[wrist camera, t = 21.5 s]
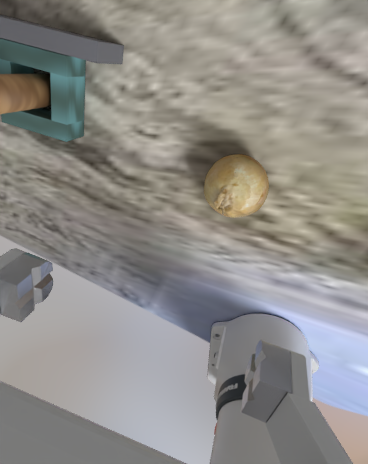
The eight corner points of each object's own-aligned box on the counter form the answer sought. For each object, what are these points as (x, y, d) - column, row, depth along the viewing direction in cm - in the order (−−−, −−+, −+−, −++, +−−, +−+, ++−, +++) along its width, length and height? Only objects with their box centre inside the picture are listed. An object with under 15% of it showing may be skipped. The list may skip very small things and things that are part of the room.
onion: (217, 142, 38) (205, 155, 32) (278, 158, 37) (278, 175, 31) (203, 198, 42) (191, 219, 36) (258, 214, 41) (254, 238, 35)
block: (83, 136, 43) (66, 141, 39) (23, 117, 44) (2, 121, 41) (85, 57, 38) (66, 56, 34) (17, 39, 39) (-8, 36, 36)
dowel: (65, 108, 42) (9, 118, 33) (40, 101, 42) (-20, 109, 34) (64, 76, 40) (5, 78, 31) (38, 70, 40) (-27, 70, 32)
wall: (122, 64, 37) (96, 63, 32) (-15, 28, 40) (-58, 22, 34) (123, 45, 36) (97, 41, 31) (-17, 10, 38) (-62, 1, 33)
